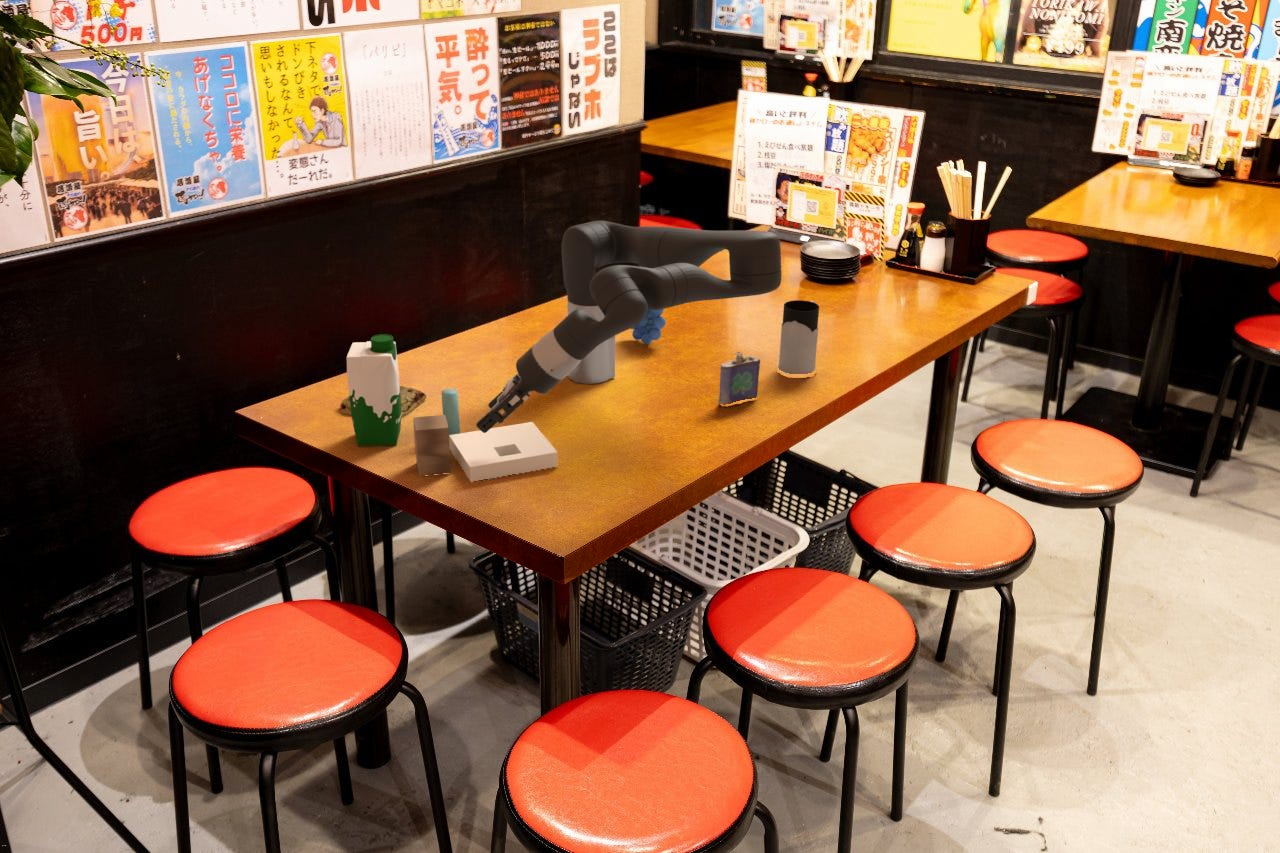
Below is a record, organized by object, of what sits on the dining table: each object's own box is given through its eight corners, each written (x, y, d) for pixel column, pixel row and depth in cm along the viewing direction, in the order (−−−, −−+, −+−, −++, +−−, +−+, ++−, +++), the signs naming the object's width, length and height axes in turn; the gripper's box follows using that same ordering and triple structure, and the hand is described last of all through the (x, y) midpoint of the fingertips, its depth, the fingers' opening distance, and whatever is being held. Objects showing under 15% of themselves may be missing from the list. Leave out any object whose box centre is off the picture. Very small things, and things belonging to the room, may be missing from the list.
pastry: (332, 397, 229) (331, 384, 228) (416, 385, 236) (415, 372, 234) (348, 430, 215) (346, 416, 214) (437, 417, 221) (436, 403, 220)
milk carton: (400, 447, 208) (392, 346, 199) (351, 448, 207) (340, 347, 198) (405, 427, 215) (397, 329, 207) (358, 428, 215) (348, 330, 206)
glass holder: (770, 374, 243) (775, 308, 237) (791, 353, 255) (796, 290, 248) (809, 381, 240) (815, 314, 233) (829, 360, 251) (834, 295, 245)
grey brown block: (447, 459, 203) (445, 414, 199) (451, 473, 198) (448, 427, 195) (416, 463, 202) (413, 417, 198) (419, 477, 197) (415, 430, 193)
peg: (457, 431, 214) (455, 387, 211) (462, 437, 212) (459, 393, 208) (442, 433, 213) (439, 390, 209) (446, 439, 211) (443, 395, 207)
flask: (722, 409, 226) (725, 359, 221) (714, 404, 228) (717, 354, 224) (760, 400, 230) (763, 351, 226) (751, 395, 232) (754, 346, 228)
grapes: (676, 346, 258) (678, 296, 253) (656, 353, 253) (657, 302, 248) (641, 333, 265) (642, 284, 260) (620, 340, 261) (621, 290, 256)
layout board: (532, 436, 213) (532, 421, 211) (557, 467, 201) (557, 452, 200) (450, 449, 207) (449, 435, 206) (470, 482, 195) (470, 467, 194)
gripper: (557, 392, 183) (492, 451, 189) (573, 361, 196) (511, 416, 202) (524, 360, 181) (459, 420, 187) (542, 330, 194) (480, 387, 200)
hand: (486, 418), depth 195 cm, fingers open, 8 cm apart
